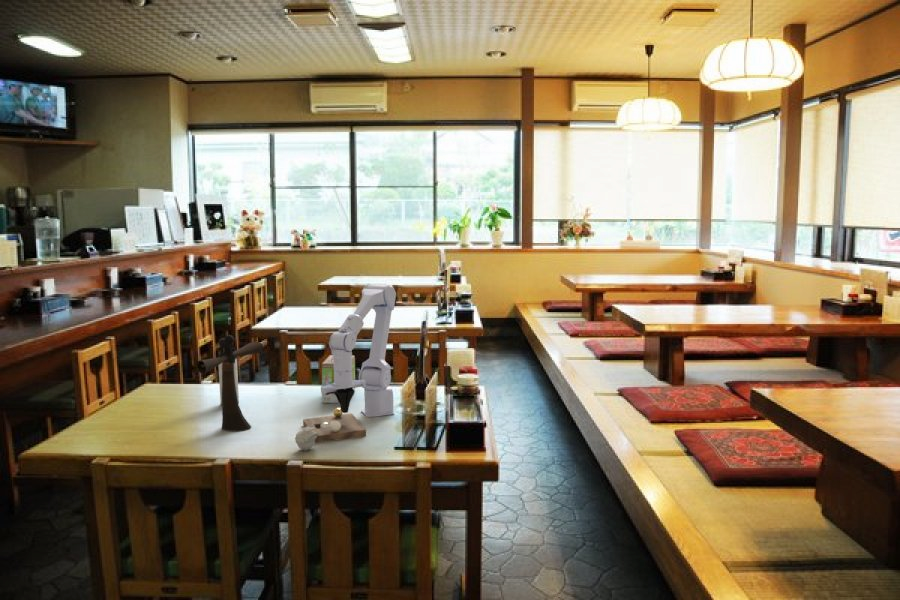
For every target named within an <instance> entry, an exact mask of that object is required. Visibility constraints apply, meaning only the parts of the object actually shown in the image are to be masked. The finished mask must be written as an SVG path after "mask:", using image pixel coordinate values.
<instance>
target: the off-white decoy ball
mask: <svg viewBox="0 0 900 600" xmlns="http://www.w3.org/2000/svg"><path fill="white" fill-rule="evenodd" d="M340 428H341V424H340V422H339V421H336V420H335V421H332V422H331V423H330V429H331V430H332V431H333V432H337V431H339V430H340Z"/></svg>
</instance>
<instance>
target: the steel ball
mask: <svg viewBox="0 0 900 600" xmlns="http://www.w3.org/2000/svg"><path fill="white" fill-rule="evenodd" d="M327 427H330V424H329V423H327V422H323V423H322V424H321V425H320V428H327Z"/></svg>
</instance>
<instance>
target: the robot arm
mask: <svg viewBox="0 0 900 600" xmlns="http://www.w3.org/2000/svg"><path fill="white" fill-rule="evenodd" d="M396 297H397V292H396V290H395V288H394V286H393V285H392V284H377V283H375V284H372V283H366V284H365V285H364V287H363V288H362V290H361V299H360V301H359V303H358V305H357V307H356V309H355V310H354V313H352V314H349V315H348V316H347V317H346V319H345V320H344V321H343V323H342V324H341V326H340V327H339V329H338V331H335V332H334V333H332V334H331V335H330V337H329V341H328V345H329V348H330V351H331V355H333V358H334V383H333V384H329V385H326V386H322V385H321V386H320V392H321V394H322V393H323V394H326V393H328V392H334V394H335V395H336V397H337V399H338V401H339V403H338V404H339V408H341V412H343V413H342V414H348V413H349V407H350V405H351V402H352V399H353V397H354V395H355V393H354V390H353V388H355V389H356V388H361V387H362V389H364V409H361V412H362V414H364V416H365V417H367V418H372V417H373V418H374V417H382V416H389V415H390V416H391V415H394V414H395V412H394V392H393V388H392V387H391V386H390V384H391V380H392V375H391V368H392V367H391V366H390V364H389V363H388V362H386V360H385V358H386V353H387V345H388V339H389V338H388V337H389V332H390V331H389V330H390V324H391V318H392V312H393V310H394V309H395V304H396ZM371 310H374V312H375V319H374V324H373V331H372V338H371V345H370V350H369V356H368V357H369V358H368V359H366V360H365V361H363V362H362V363H361V369H360V371H359V372H358V379H355V380H353V374H352V355H353V352H352V350H354V349H355V346H356V342H357V338H358V334H359V333H360V331H361V330H362V329H363V327H364V324H365V323H364V321H363V320H364V319H365V318H366V317H367V315H368V314H369V312H370V311H371Z"/></svg>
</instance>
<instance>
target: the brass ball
mask: <svg viewBox="0 0 900 600" xmlns="http://www.w3.org/2000/svg"><path fill="white" fill-rule="evenodd" d="M332 411H333V412H332V413H333V415H334V416H336V417H340V416H341V415H342V414H344V413H343V412H341V408H340V407H336V408H334V409H333V410H332Z"/></svg>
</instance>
